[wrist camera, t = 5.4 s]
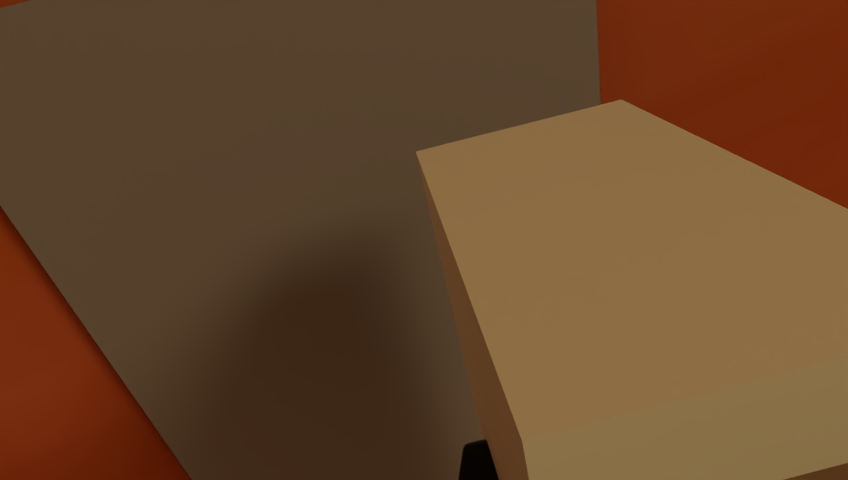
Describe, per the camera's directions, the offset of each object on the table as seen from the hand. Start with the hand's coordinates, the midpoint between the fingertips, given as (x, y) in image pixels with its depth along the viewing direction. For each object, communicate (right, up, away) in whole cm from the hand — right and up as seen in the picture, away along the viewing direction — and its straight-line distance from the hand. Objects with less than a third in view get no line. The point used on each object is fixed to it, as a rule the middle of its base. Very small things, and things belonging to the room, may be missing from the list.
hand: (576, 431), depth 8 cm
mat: (-4, +2, +5) cm, 7 cm away
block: (0, +1, +1) cm, 1 cm away
